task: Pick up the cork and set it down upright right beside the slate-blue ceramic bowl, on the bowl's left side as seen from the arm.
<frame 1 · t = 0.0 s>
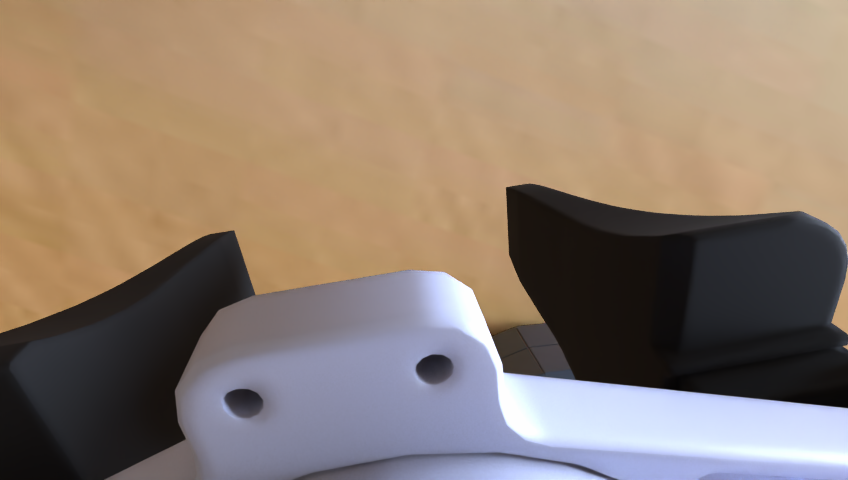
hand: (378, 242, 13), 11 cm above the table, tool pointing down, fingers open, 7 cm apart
blue bowl: (531, 416, 28), on the table
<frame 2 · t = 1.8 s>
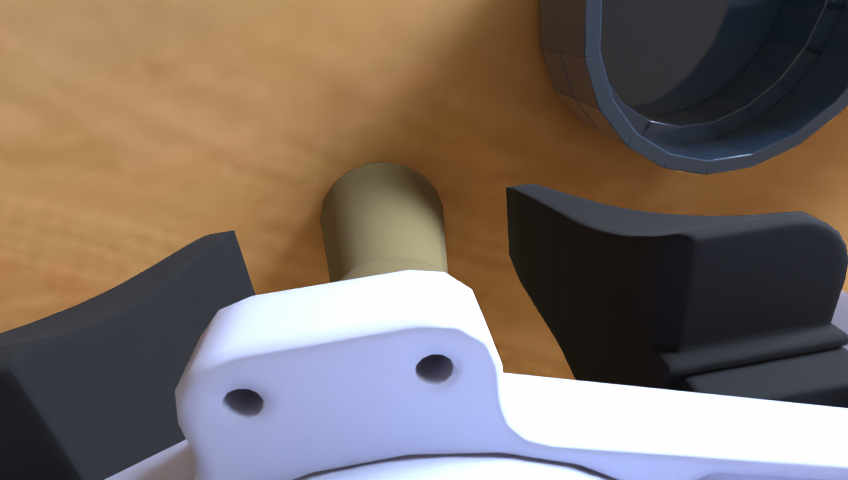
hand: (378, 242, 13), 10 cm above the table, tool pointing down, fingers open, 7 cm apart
blue bowl: (672, 2, 21), on the table
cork: (382, 219, 24), on the table
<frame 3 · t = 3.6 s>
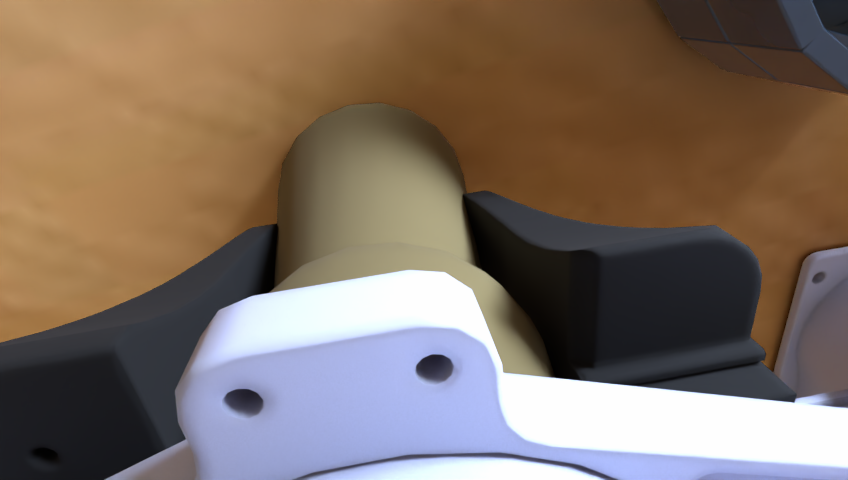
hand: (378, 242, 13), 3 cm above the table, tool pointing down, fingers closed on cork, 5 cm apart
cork: (373, 194, 16), on the table, touching gripper
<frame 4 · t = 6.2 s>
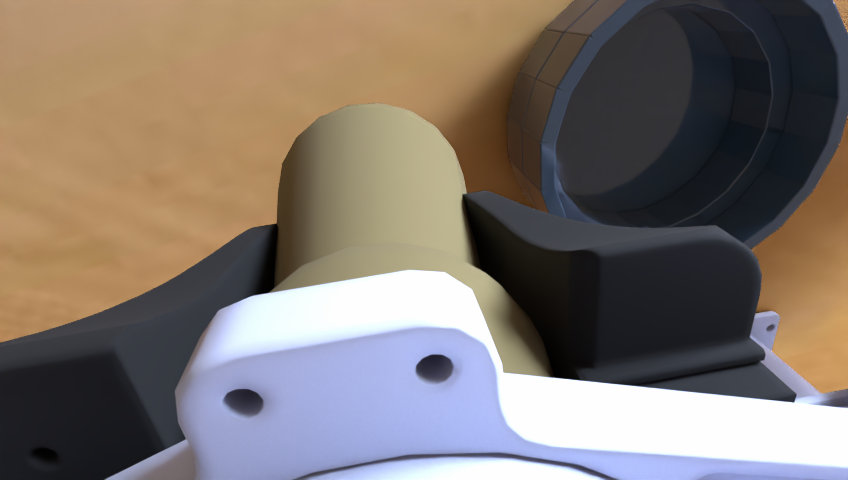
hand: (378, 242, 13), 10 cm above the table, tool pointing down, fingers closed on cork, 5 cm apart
blue bowl: (630, 115, 23), on the table
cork: (373, 194, 16), point 7 cm above the table, touching gripper
when the fingers open (3 cm above the table, at t = 8.8 s): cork stays where it is, on the table.
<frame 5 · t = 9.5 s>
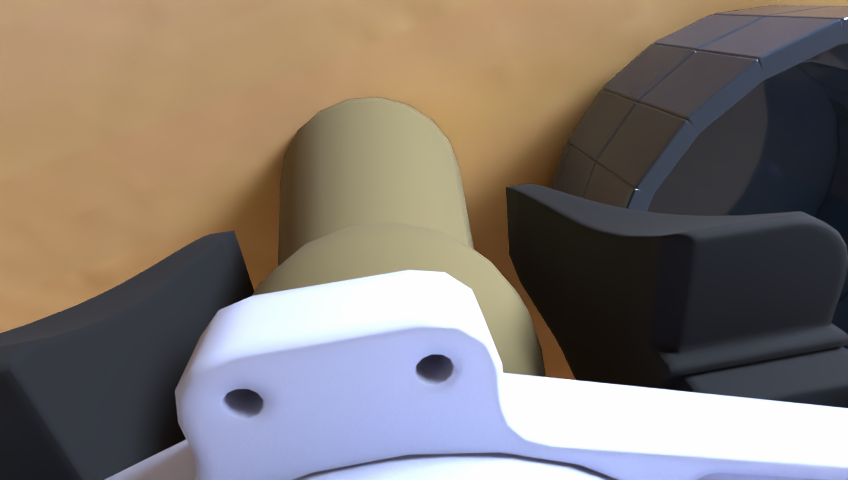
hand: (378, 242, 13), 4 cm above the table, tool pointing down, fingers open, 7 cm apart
blue bowl: (702, 189, 18), on the table
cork: (372, 186, 17), on the table
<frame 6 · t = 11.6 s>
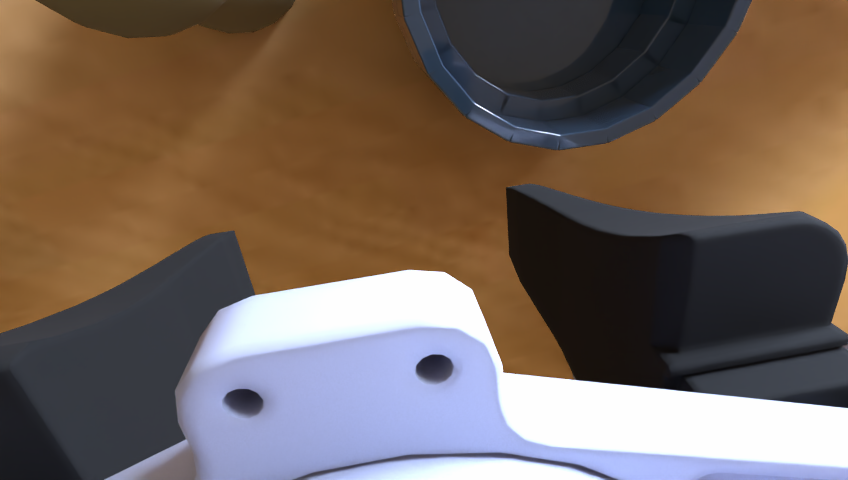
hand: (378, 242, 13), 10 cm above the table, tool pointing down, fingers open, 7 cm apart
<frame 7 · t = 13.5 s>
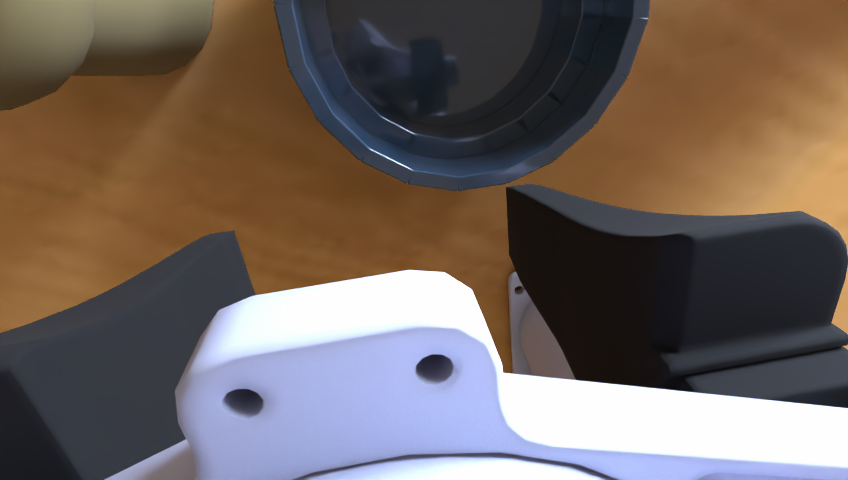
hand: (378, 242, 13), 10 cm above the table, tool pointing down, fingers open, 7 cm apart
blue bowl: (445, 9, 20), on the table
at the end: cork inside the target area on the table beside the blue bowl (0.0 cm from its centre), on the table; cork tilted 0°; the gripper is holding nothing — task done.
